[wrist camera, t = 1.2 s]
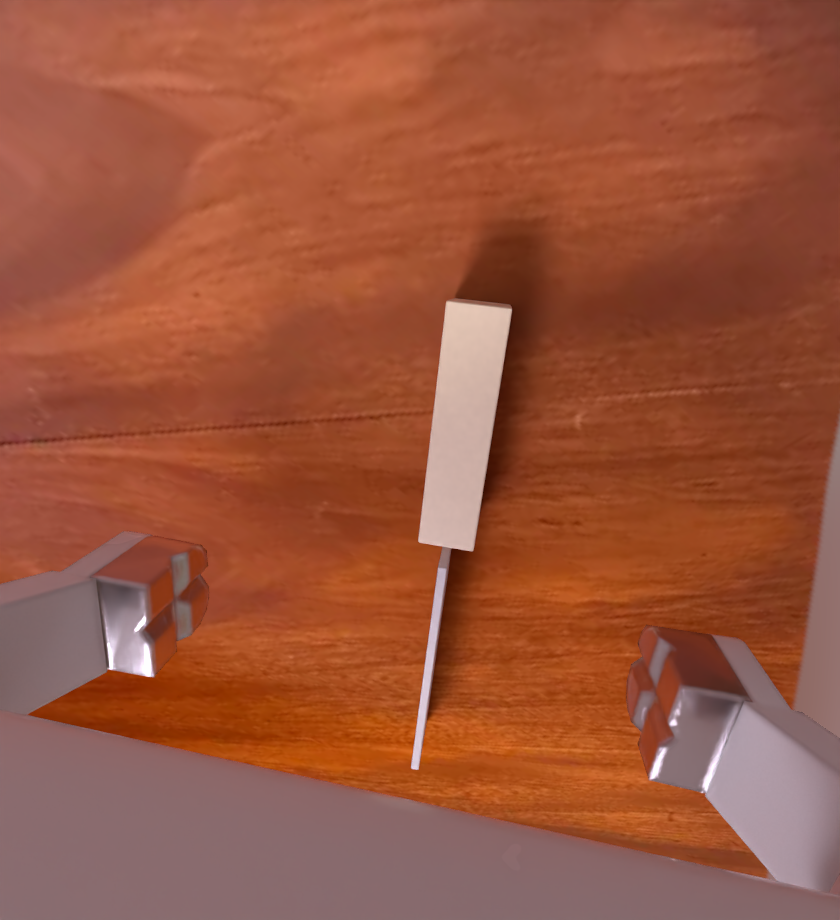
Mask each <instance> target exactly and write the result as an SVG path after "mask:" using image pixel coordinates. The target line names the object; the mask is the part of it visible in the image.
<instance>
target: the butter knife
mask: <svg viewBox="0 0 840 920" xmlns="http://www.w3.org/2000/svg"><path fill="white" fill-rule="evenodd" d="M511 315H512V307H511V305H510V304H501V303H493V302H484V301H476V300H467V299H458V298H454V299H451V300H448V301H447V302H446V309H445V317H444V326H443V334H442V343H441V351H440V360H439V368H438V377H437V385H436V394H435V402H434V411H433V419H432V428H431V436H430V445H429V453H428V462H427V470H426V479H425V487H424V496H423V504H422V513H421V521H420V530H419V538H418V542H420V543H425V544H431V545H437V546H443V548H442V552H441V557H440V561H439V566H438V572H437V579H436V587H435V594H434V601H433V609H432V616H431V623H430V631H429V638H428V646H427V653H426V660H425V668H424V675H423V683H422V690H421V697H420V705H419V712H418V719H417V727H416V734H415V742H414V749H413V756H412V764H411V768H412V769H416V770H418V769H419V764H420V758H421V752H422V747H423V741H424V735H425V729H426V723H427V716H428V709H429V702H430V695H431V688H432V681H433V674H434V667H435V660H436V653H437V646H438V639H439V632H440V625H441V618H442V611H443V604H444V597H445V590H446V583H447V576H448V569H449V562H450V555H451V549H452V548H455V549H461V550H467V551H473V550H474V545H475V539H476V533H477V527H478V521H479V514H480V508H481V502H482V496H483V489H484V483H485V477H486V471H487V465H488V458H489V452H490V446H491V440H492V433H493V427H494V421H495V415H496V409H497V402H498V396H499V390H500V384H501V377H502V371H503V365H504V359H505V353H506V346H507V340H508V334H509V328H510V321H511Z"/></svg>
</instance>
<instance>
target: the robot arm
mask: <svg viewBox="0 0 840 920" xmlns="http://www.w3.org/2000/svg"><path fill="white" fill-rule="evenodd" d="M207 566H208V560H207V550H206V549H205V548H204V547H203V546H202V545H199V544H194V543H189V542H184V541H179V540H174V539H169V538H164V537H159V536H152V535H150V534H144V533H138V532H132V531H129V532H122V533H120V534H118V535H117V536H115V537H114V538H112V539H111V540H109V541H108V542H106V543H105V544H103V545H101V546H100V547H98V548H97V549H95V550H94V551H92V552H91V553H89V554H87V555H86V556H84V557H83V558H81V559H80V560H78V561H77V562H75V563H74V564H72V565H70V566H69V567H67V568H66V569H64V570H63V571H61V572H56V571H49V572H45V573H41V574H38V575H34V576H30V577H26V578H22V579H18V580H14V581H10V582H7V583H3V584H0V920H840V738H838V737H837V736H835V735H834V734H833V733H831V732H830V731H828V730H827V729H826V728H824V727H823V726H821V725H820V724H818V723H817V722H815V721H814V720H813V719H811V718H810V717H808V716H807V715H805V714H804V713H802V712H799V711H794V710H791V709H790V707H789V706H788V704H787V703H786V701H785V700H784V699H783V697H782V696H781V694H780V693H779V691H778V690H777V688H776V687H775V686H774V684H773V683H772V681H771V680H770V678H769V677H768V675H767V674H766V673H765V671H764V670H763V668H762V667H761V665H760V664H759V662H758V661H757V659H756V658H755V657H754V655H753V654H752V652H751V651H750V649H749V648H748V646H747V645H746V644H745V642H743V641H741V640H740V639H738V638H734V637H727V636H720V635H713V634H703V633H697V632H691V631H684V630H678V629H671V628H665V627H658V626H652V625H646V626H645V627H644V629H643V630H642V632H641V635H640V638H639V641H638V646H639V649H640V652H641V654H642V657H641V658H640V659H638V660H637V661H636V662H634V663H633V664H631V667H630V671H629V675H628V679H627V689H626V701H627V709H628V712H629V716H630V720H631V722H632V723H633V724H634V725H635V726H636V727H637V728H638V729H639V730H640V731H641V735H640V738H639V741H638V746H639V750H640V753H641V756H642V759H643V763H644V766H645V769H646V772H647V776H648V779H649V780H651V781H655V782H660V783H664V784H668V785H672V786H677V787H681V788H685V789H689V790H694V791H698V792H702V793H706V795H705V796H706V798H707V799H708V800H709V801H710V802H711V803H712V805H713V806H714V807H715V808H716V809H717V810H718V812H719V813H720V814H721V815H722V816H723V818H724V819H725V820H726V821H727V822H728V823H729V825H730V826H731V827H732V828H733V829H734V830H735V832H736V833H737V834H738V835H739V836H740V837H741V839H742V840H743V841H744V842H745V843H746V845H747V846H748V847H749V848H750V849H751V850H752V852H753V853H754V854H755V855H756V856H757V857H758V859H759V860H760V861H761V862H762V863H763V865H764V866H765V867H766V868H767V869H768V870H769V872H770V873H771V874H772V875H773V876H774V877H775V879H776V880H777V881H775V880H770V879H766V878H761V877H757V876H752V875H747V874H743V873H738V872H733V871H729V870H724V869H720V868H715V867H710V866H706V865H701V864H696V863H692V862H687V861H683V860H678V859H673V858H669V857H664V856H660V855H655V854H651V853H646V852H642V851H638V850H633V849H629V848H624V847H620V846H615V845H611V844H606V843H602V842H597V841H593V840H588V839H584V838H579V837H575V836H570V835H566V834H561V833H557V832H552V831H548V830H543V829H539V828H535V827H530V826H526V825H521V824H517V823H512V822H508V821H503V820H499V819H494V818H490V817H485V816H481V815H476V814H472V813H467V812H463V811H458V810H454V809H449V808H445V807H440V806H436V805H432V804H427V803H422V802H418V801H413V800H409V799H404V798H400V797H395V796H391V795H386V794H382V793H377V792H372V791H368V790H363V789H359V788H354V787H350V786H345V785H341V784H336V783H332V782H327V781H322V780H318V779H313V778H309V777H304V776H300V775H295V774H291V773H286V772H282V771H277V770H272V769H268V768H263V767H259V766H254V765H250V764H245V763H241V762H236V761H232V760H227V759H222V758H218V757H213V756H209V755H204V754H200V753H195V752H191V751H186V750H182V749H177V748H173V747H168V746H164V745H159V744H155V743H150V742H146V741H141V740H137V739H132V738H128V737H123V736H119V735H114V734H110V733H105V732H101V731H96V730H92V729H87V728H82V727H78V726H73V725H69V724H64V723H60V722H55V721H51V720H46V719H42V718H37V717H33V716H28V715H27V714H28V713H30V712H32V711H34V710H36V709H38V708H40V707H42V706H44V705H45V704H47V703H49V702H51V701H53V700H55V699H57V698H59V697H60V696H62V695H64V694H66V693H68V692H70V691H72V690H74V689H75V688H77V687H79V686H81V685H83V684H85V683H87V682H89V681H91V680H92V679H94V678H96V677H98V676H100V675H102V674H104V673H106V672H107V669H110V670H115V671H121V672H127V673H132V674H138V675H144V676H149V677H155V675H156V674H157V673H158V672H159V671H160V670H161V669H162V668H163V666H164V665H165V664H166V663H167V662H168V661H169V660H170V659H171V657H172V656H173V655H174V654H175V653H176V652H177V643H176V641H179V640H181V639H183V638H185V637H188V636H190V635H192V634H193V632H194V631H195V630H196V629H197V628H198V626H199V625H200V624H201V621H202V619H203V617H204V615H205V613H206V610H207V606H208V600H209V586H208V584H207V583H206V582H205V580H204V579H203V577H202V576H201V574H202V572H203V571H204V570H205V569H206V568H207Z"/></svg>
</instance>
